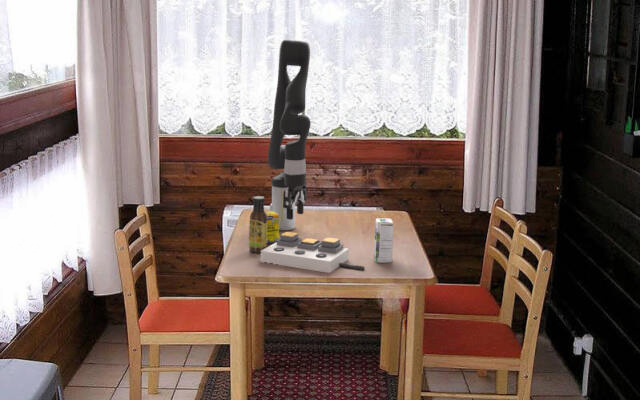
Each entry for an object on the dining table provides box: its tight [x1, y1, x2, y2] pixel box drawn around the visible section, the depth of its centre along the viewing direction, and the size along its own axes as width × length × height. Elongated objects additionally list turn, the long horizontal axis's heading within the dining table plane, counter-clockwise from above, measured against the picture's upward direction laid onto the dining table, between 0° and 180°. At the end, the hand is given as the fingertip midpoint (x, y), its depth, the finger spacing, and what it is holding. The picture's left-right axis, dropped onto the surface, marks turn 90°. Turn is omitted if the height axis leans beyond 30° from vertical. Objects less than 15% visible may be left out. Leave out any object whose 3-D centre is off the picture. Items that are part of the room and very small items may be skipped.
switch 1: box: [279, 231, 299, 242], centre depth 281 cm, size 5×5×2 cm
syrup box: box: [373, 217, 395, 264], centre depth 276 cm, size 6×6×14 cm
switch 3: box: [321, 237, 341, 248], centre depth 274 cm, size 5×5×2 cm
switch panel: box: [260, 237, 366, 274], centre depth 273 cm, size 35×16×6 cm, turn 66°
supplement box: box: [265, 211, 280, 245], centre depth 296 cm, size 6×6×11 cm
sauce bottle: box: [248, 195, 268, 254], centre depth 284 cm, size 6×6×20 cm
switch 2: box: [301, 237, 320, 246], centre depth 278 cm, size 5×5×2 cm
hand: (295, 216), depth 282 cm, fingers open, 8 cm apart
